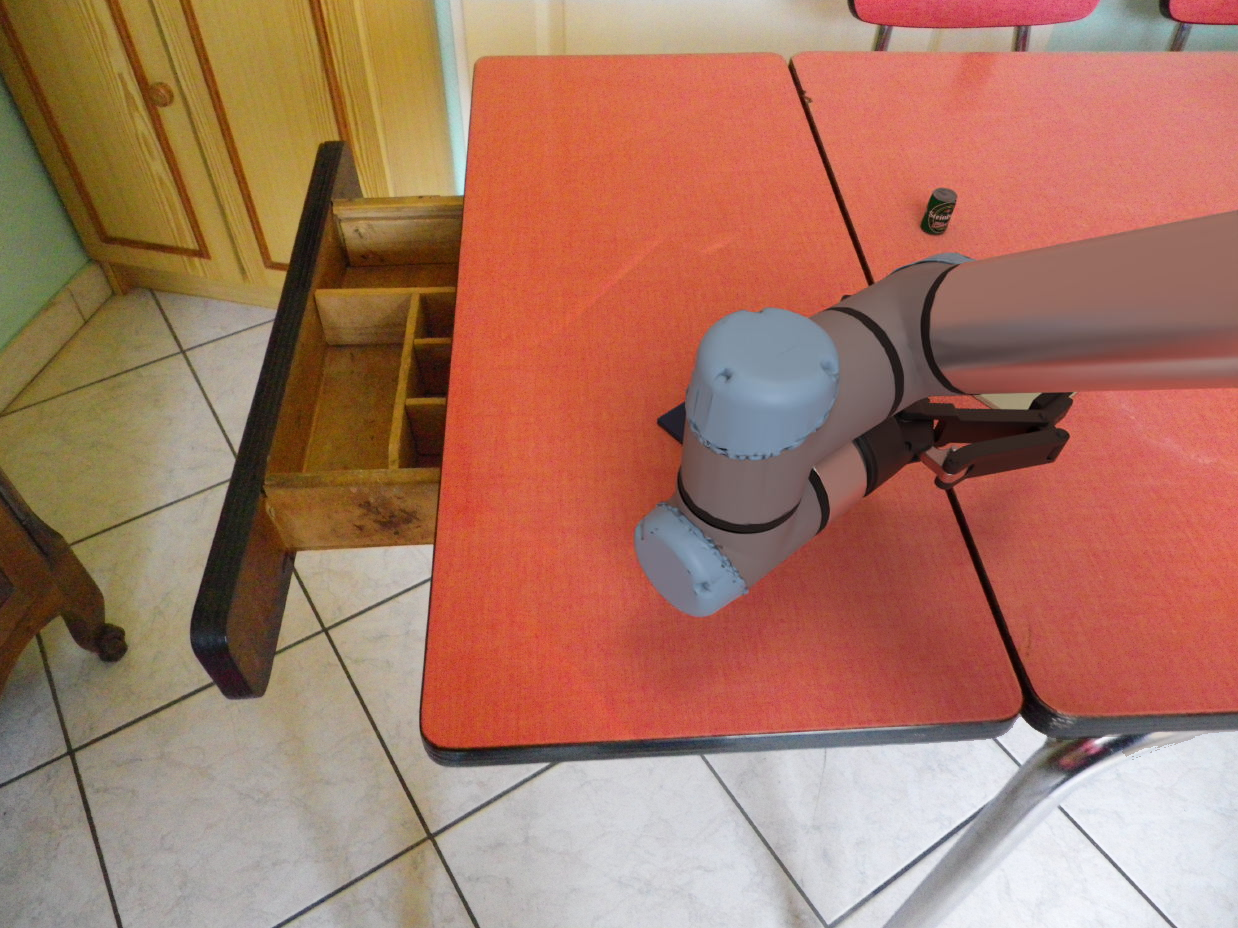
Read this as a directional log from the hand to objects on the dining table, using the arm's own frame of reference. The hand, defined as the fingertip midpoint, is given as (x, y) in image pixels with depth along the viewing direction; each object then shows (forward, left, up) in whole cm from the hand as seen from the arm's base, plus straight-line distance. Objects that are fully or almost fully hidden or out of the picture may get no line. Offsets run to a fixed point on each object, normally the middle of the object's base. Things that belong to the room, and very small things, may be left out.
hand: (1000, 331), depth 68 cm
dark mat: (+11, +16, -10) cm, 22 cm away
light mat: (0, -9, -10) cm, 14 cm away
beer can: (+19, -23, -11) cm, 32 cm away
